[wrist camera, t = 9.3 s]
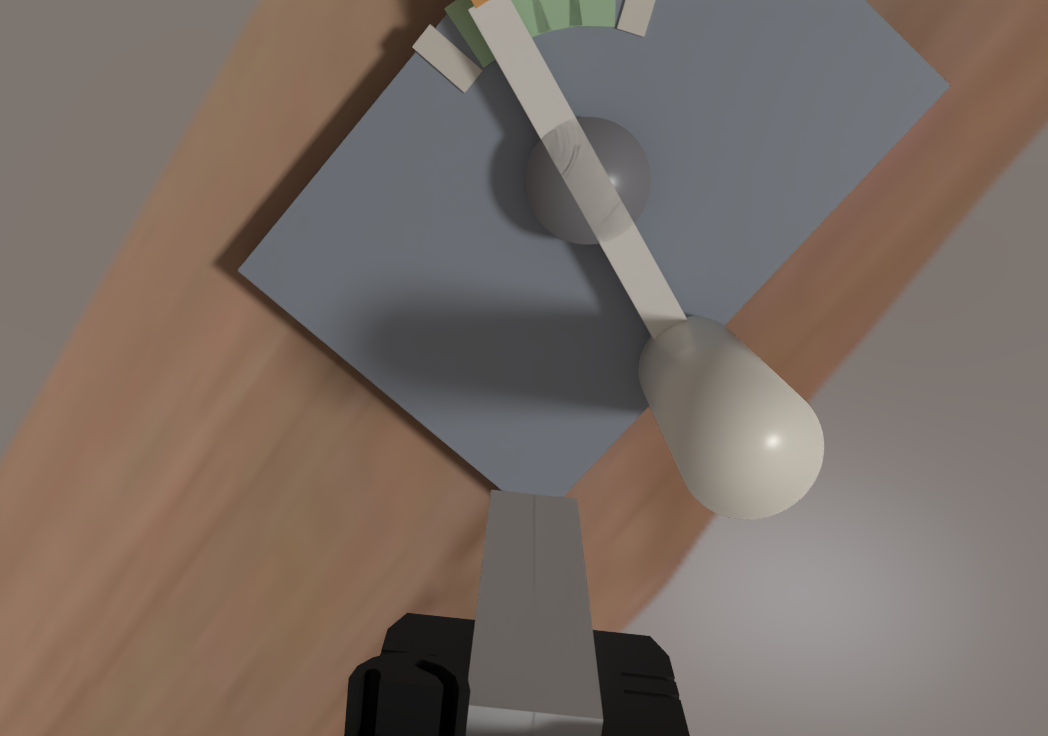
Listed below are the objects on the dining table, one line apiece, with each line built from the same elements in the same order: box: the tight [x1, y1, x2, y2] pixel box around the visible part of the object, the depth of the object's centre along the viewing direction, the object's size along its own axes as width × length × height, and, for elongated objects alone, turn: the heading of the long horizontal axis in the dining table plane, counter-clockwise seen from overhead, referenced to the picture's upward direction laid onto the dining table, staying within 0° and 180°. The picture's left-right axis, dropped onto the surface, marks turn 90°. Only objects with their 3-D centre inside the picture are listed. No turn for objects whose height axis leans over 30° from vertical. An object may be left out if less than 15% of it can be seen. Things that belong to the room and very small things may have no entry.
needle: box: [468, 0, 824, 520], centre depth 30 cm, size 19×4×10 cm, turn 30°
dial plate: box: [237, 0, 951, 497], centre depth 36 cm, size 22×15×1 cm
